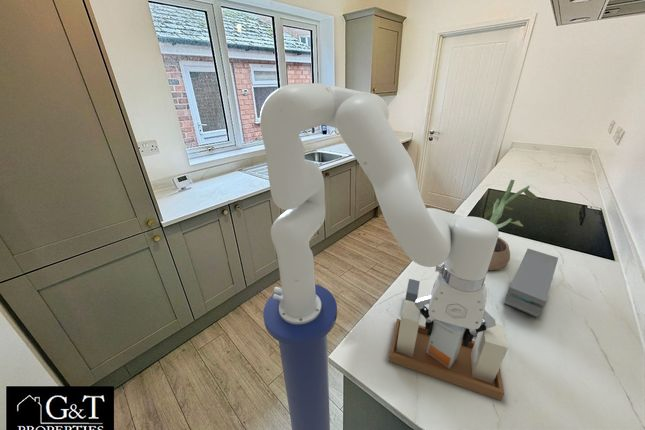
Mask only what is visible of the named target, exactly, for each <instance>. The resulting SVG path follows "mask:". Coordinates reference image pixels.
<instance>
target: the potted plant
mask: <svg viewBox="0 0 645 430" xmlns="http://www.w3.org/2000/svg"><path fill="white" fill-rule="evenodd" d="M515 181H516V180H515V179H510V181H509V183H508V186H507V187H506V190H505V193H504V194H503V196H502V198H501V200H500V199H499V198H496V200H495V202H493V206H492V207H490V208H488V209H486V210H485V211H484V212H483V218H484V219H487V218H488V217H490V216H491V217H490V218H489V220H488V221H490V222H492V223H493V224H494V225H495V226H496V227H497V228H498V229H501V228H503V227H505V226H506V225H508V224H509V223H510V224H513V225H515V226H519V227H524V224H522V223H521V221H520V220H515V221H513V218H511V217H510V218H508V219H507V220H505V221H503V222H501V223H498V221H499V219H501V217H502V215H503V212H504V210H505V209H506V210H512V211H513V210H514V208H512V207H510V206H508V204H509V203H511V202H512V201H514V200H515V199H516V198H517V197H518V196H520V195H521V194H522V193H524V195H525V196H526V197H528V199H535V200H538V197H537V195H535V194H534V193H533V192H532V191H530V190H529V189H530V185H526V186H525V187H523V188H521V189H520V190H518V191H517V192H515V193H513V195H511V196H510V194H511V192H512V190H513V187H514V184H515ZM497 223H498V224H497ZM510 259H511V250H510V246H509V244H508V243H507V241H506V240H505V239H503V238H501V237H499V236H498V239H497V242H496V246H495V249H494V252H493V255H492V258H491V261H490V265H489V268H488V271H496V270H500V269H502V268H504V267H506V266H507V265H508V263H509V262H510Z"/></svg>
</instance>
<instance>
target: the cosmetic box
mask: <svg viewBox="0 0 645 430" xmlns="http://www.w3.org/2000/svg"><path fill="white" fill-rule="evenodd" d="M466 329H467V328H464V327H461V326H457V325H453V324H450V323H446V322H443V321H439V320H436V319H434V321H433V328H432V332H431V335H430V338H429V342H428V346H427V351H426V353H428V354H429V355H431V356H432V357H433V358H435V359H436V360H438V361H439V362H440V363H442V364H443V365H444V366H446V367H447V368H448V369H450V367H451V366H452V364H453V363H454V362H455V360H456V359H457V356H458V353H459V350H460V347H461V344H462V341H463V338H464V335H465V332H466Z"/></svg>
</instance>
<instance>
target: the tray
mask: <svg viewBox="0 0 645 430" xmlns="http://www.w3.org/2000/svg"><path fill="white" fill-rule="evenodd" d="M400 321H401V318H396V322H395V326H394V330H393V336H392V341H391V345H390V350H389V355H388V362H390V363H393V364H396V365H399V366H401V367H404V368H407V369H410V370H413V371H416V372H418V373H421V374H424V375H426V376H430V377H433V378H435V379H438V380H440V381H444V382H447V383H450V384H453V385H455V386H458V387H460V388H464V389H466V390H469V391H472V392H475V393H478V394H480V395H484V396H487V397H489V398H493V399H495V400H498V401H502V399H503V397H504V395H505V390H504V383H503V378H502V374H501V373H502V372H501V367H500V368H499V370H498V373H497V375H496V377H495V380H494V382H493V384H491V383H488V382H485V381H482V380H479V379H476V378H473V377H472V365H471V352H472V349H473V346H474V343H475V340H473V339H472V342H469V343H468V346H467V347H465V346H464V344H463V341H462V344H461V347H460V350H459V353H458V356H457V359H456V360H455V362H454V363H453V364H452V366H451V367H450V369H448V368H447V367H446V366H444V365H443V364H442V363H440V362H439V361H438V360H436V359H435V358H433V357H432V356H431V355H429V354H428V353H426V351H427V346H428V342H429V338H430V336H429V335H427V334H428V330H427V329H425V326H424V325H421V324H419V327H418V332H417V337H416V342H415V348H414V353H413V357H411V356H408V355H405V354H402V353H399V352H396V348H397V341H398V335H399V328H400Z"/></svg>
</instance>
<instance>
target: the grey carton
mask: <svg viewBox="0 0 645 430" xmlns="http://www.w3.org/2000/svg"><path fill="white" fill-rule="evenodd" d="M420 283H421V281H420V280H417V279H411V278H408V282H407V287H406V293H405V299H404V300H408V301H412V302H415V300H416V299H418V296H419V289H420Z"/></svg>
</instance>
